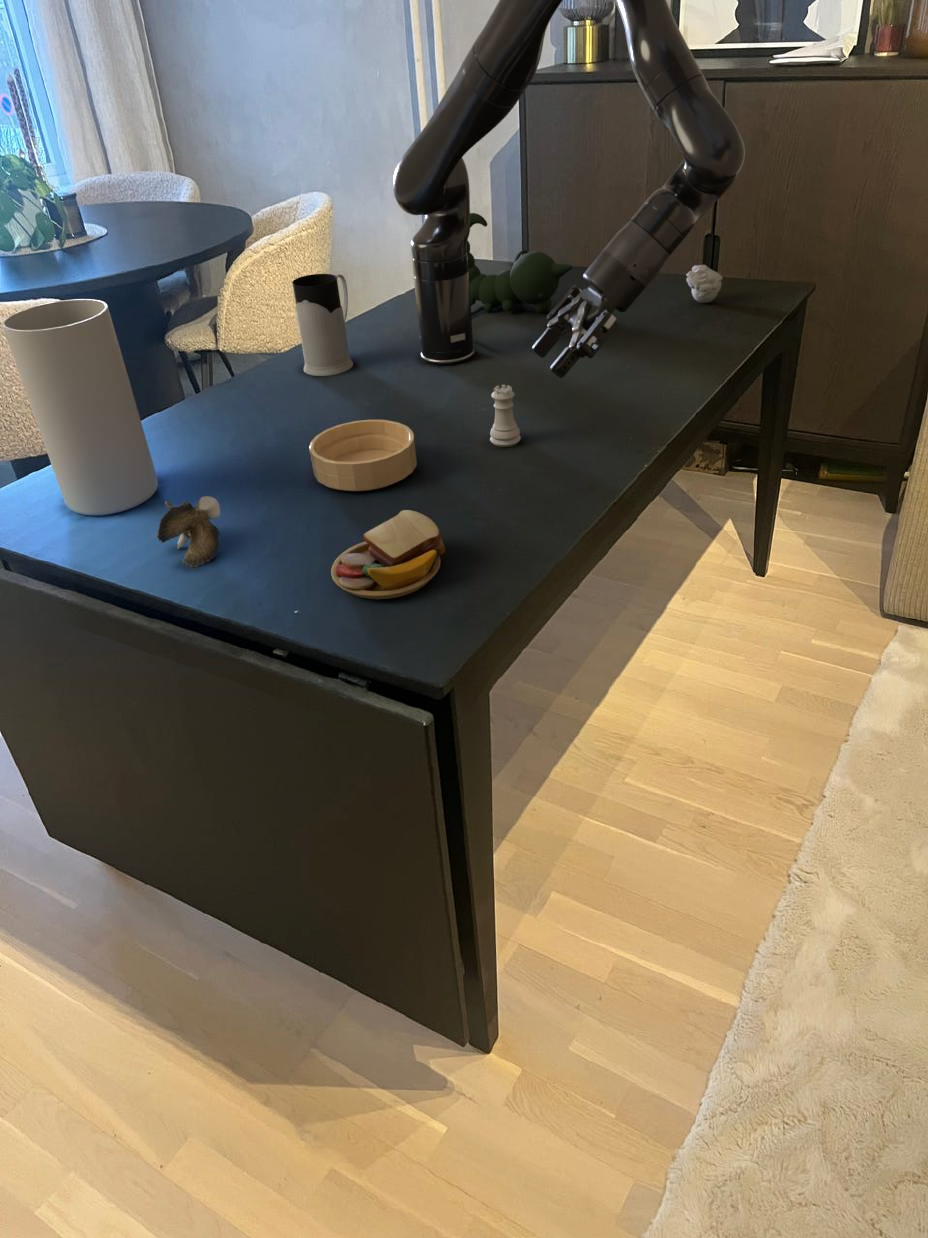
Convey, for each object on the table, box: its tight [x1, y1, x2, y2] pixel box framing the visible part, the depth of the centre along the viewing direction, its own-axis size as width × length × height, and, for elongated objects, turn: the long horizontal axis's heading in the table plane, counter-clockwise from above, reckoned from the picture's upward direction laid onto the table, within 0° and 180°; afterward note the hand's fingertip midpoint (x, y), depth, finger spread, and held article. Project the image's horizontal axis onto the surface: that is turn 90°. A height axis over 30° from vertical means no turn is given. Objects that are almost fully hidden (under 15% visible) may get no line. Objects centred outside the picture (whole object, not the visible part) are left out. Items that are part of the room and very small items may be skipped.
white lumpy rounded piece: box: [685, 264, 723, 304], centre depth 178 cm, size 6×7×7 cm
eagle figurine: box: [156, 495, 221, 568], centre depth 115 cm, size 8×7×9 cm
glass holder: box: [291, 273, 354, 377], centre depth 164 cm, size 9×14×15 cm, turn 158°
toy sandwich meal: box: [330, 509, 446, 600], centre depth 107 cm, size 12×14×5 cm
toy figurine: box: [467, 212, 573, 314], centre depth 180 cm, size 9×19×25 cm
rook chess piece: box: [489, 384, 522, 448], centre depth 133 cm, size 4×4×8 cm
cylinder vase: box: [1, 298, 159, 516], centre depth 123 cm, size 12×12×25 cm
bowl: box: [309, 419, 418, 492], centre depth 129 cm, size 14×14×4 cm
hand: (545, 363), depth 130 cm, fingers open, 8 cm apart
